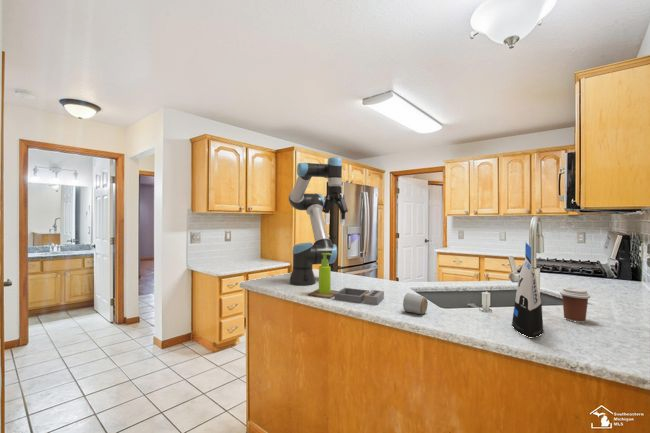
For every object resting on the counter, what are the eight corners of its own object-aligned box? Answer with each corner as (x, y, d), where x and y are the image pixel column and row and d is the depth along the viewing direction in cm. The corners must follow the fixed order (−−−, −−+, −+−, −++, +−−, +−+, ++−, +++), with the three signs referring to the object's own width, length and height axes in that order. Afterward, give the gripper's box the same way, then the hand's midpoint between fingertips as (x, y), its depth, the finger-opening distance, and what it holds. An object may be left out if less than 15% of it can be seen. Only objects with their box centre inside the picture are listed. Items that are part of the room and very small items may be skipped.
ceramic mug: (422, 317, 120) (422, 297, 120) (402, 313, 125) (402, 294, 125) (430, 311, 129) (431, 292, 129) (412, 307, 134) (412, 289, 134)
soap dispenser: (328, 295, 149) (329, 254, 149) (316, 293, 152) (316, 253, 152) (334, 292, 154) (334, 252, 154) (322, 290, 157) (322, 252, 157)
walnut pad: (319, 290, 162) (319, 288, 162) (339, 293, 156) (339, 291, 156) (308, 295, 151) (308, 293, 151) (330, 298, 146) (330, 296, 146)
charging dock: (344, 293, 156) (344, 285, 156) (384, 298, 147) (384, 290, 147) (334, 299, 144) (334, 291, 144) (376, 305, 135) (376, 296, 135)
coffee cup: (594, 321, 116) (594, 290, 116) (583, 325, 112) (584, 293, 112) (566, 314, 124) (566, 285, 124) (555, 318, 120) (555, 287, 120)
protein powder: (539, 320, 118) (540, 242, 118) (547, 342, 97) (548, 248, 97) (510, 315, 123) (511, 241, 122) (512, 336, 102) (513, 246, 101)
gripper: (316, 187, 174) (316, 224, 175) (343, 184, 154) (343, 226, 154) (327, 188, 179) (326, 224, 179) (354, 185, 158) (354, 225, 158)
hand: (334, 225), depth 167 cm, fingers open, 13 cm apart
